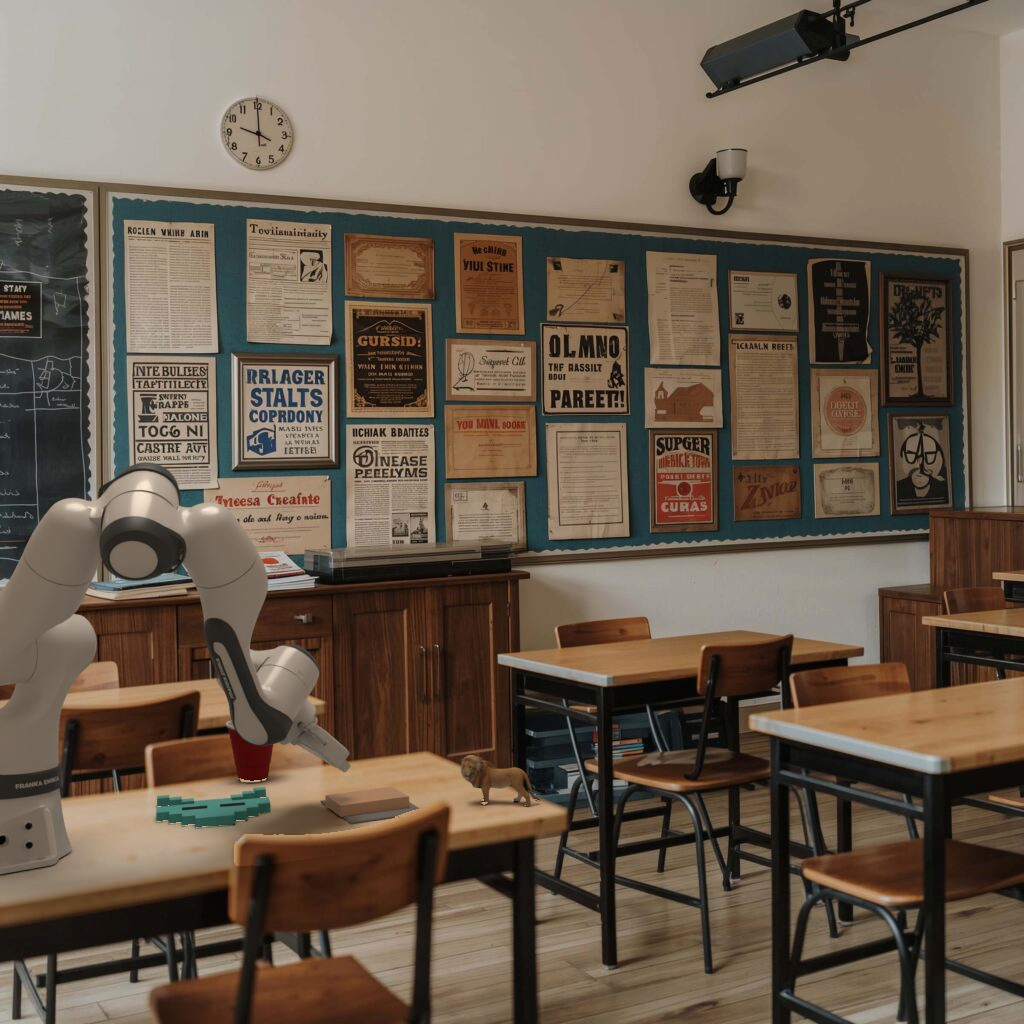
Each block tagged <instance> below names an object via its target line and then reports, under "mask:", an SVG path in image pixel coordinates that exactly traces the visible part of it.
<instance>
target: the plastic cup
mask: <svg viewBox="0 0 1024 1024" xmlns="http://www.w3.org/2000/svg"><path fill="white" fill-rule="evenodd" d="M225 726H226V727H227V731H228V734H229V739H230V742H231V743H230V744H231V750H232V754H233V755H232V757H233V761H234V765H235V769H236V774H237V778H241V779H244V780H250V781H254V780H262V779H265V778H267V777H269V773H270V766H271V761H272V756H273V748H274V744H272V745H268V746H256V745H252V744H250V743H248V742H246V741H245V740H244V739H242V738H241V737H240V736H239V734H238V733H237V732H236V730H235V728H234V726H233V723H232V720H231V719H230V720H228V721H226V722H225ZM267 779H268V778H267Z"/></svg>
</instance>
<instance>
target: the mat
mask: <svg viewBox="0 0 1024 1024" xmlns="http://www.w3.org/2000/svg"><path fill="white" fill-rule="evenodd" d="M320 803H321V804H322V805H324V806H325V807H326V802H325V799H324V800H320ZM419 808H420V807H418V806H417V805H415V804H413V803H411V802H410V801H409V807H408V808H400V809H393V810H386V811H379V812H372V813H364V814H357V815H350V816H343V817H341V819H343V820H345V821H346V822H348V823H349V824H350V825H355V824H361V823H368V822H375V821H383V820H388V819H387V818H391V817H395V816H398V815H401V814H403V813H406V812H409V811H412V810H416V809H419ZM391 819H392V818H391Z"/></svg>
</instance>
